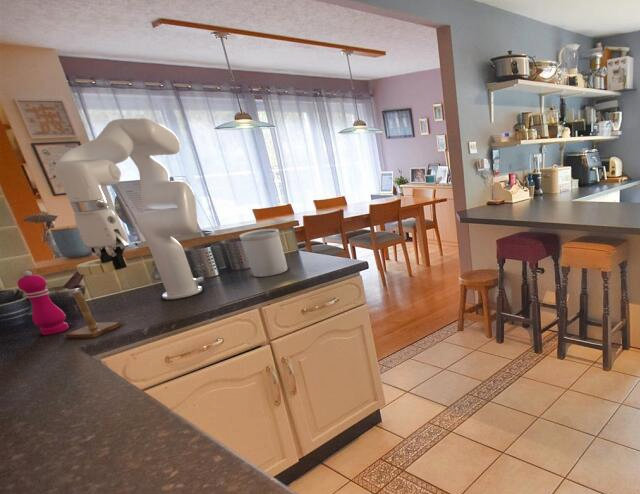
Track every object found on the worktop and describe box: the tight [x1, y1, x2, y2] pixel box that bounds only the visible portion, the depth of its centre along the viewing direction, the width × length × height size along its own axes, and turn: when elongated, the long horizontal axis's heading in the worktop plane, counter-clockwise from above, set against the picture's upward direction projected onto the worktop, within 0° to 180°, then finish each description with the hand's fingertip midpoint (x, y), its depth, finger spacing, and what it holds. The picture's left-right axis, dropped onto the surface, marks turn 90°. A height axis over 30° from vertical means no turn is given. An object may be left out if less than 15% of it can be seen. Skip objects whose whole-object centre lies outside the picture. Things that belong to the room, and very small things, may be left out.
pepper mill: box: [17, 270, 70, 336], centre depth 134 cm, size 7×7×20 cm
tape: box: [75, 256, 128, 276], centre depth 131 cm, size 11×11×2 cm
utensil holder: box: [238, 228, 288, 278], centre depth 186 cm, size 15×15×18 cm
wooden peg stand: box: [65, 290, 122, 339], centre depth 133 cm, size 9×9×13 cm
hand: (116, 268), depth 131 cm, fingers closed on tape, 2 cm apart
